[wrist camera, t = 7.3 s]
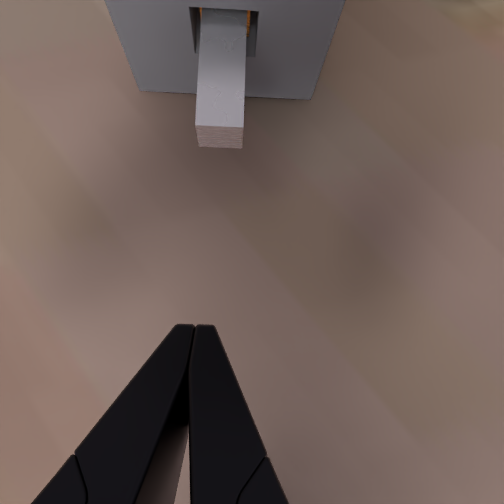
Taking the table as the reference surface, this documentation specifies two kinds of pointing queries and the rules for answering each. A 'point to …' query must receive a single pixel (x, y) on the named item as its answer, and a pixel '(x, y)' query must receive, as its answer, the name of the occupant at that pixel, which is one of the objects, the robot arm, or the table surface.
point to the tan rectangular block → (221, 77)
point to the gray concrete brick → (257, 44)
